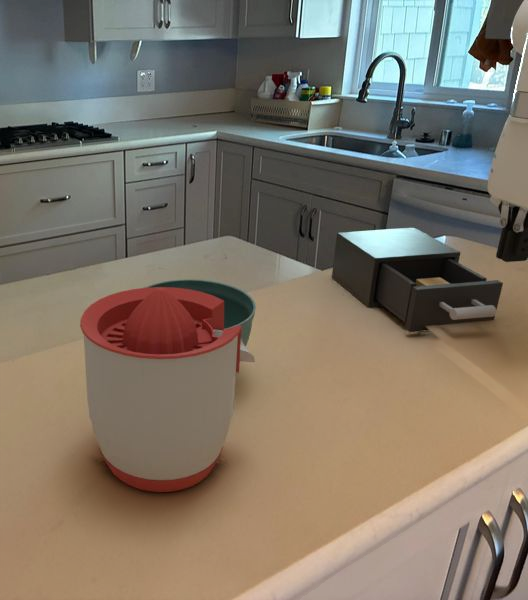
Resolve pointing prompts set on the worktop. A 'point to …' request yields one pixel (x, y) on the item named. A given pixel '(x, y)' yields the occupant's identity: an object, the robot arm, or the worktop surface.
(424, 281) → the block
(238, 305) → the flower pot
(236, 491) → the worktop surface
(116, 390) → the citrus juicer
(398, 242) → the grey drawer box
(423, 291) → the mini dresser drawer
